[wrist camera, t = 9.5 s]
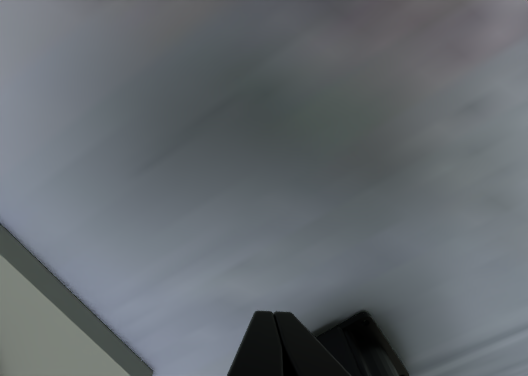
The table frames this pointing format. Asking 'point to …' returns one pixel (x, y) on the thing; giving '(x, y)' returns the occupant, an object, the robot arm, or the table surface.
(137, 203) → the table surface
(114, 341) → the slate base
